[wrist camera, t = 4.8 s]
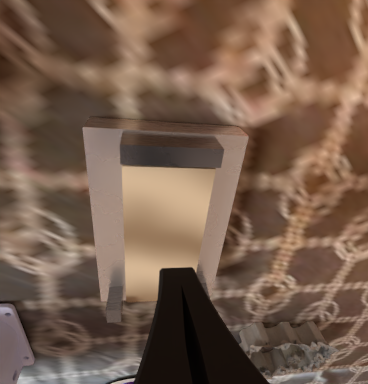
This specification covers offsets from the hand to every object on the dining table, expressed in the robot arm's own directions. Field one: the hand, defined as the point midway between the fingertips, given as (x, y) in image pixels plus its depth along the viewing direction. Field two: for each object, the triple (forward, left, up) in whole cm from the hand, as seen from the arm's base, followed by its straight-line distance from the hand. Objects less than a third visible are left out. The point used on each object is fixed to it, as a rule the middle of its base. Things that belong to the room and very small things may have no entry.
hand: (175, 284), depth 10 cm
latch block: (-2, 0, -8) cm, 9 cm away
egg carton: (-21, -15, -9) cm, 27 cm away
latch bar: (-3, 0, -6) cm, 7 cm away
